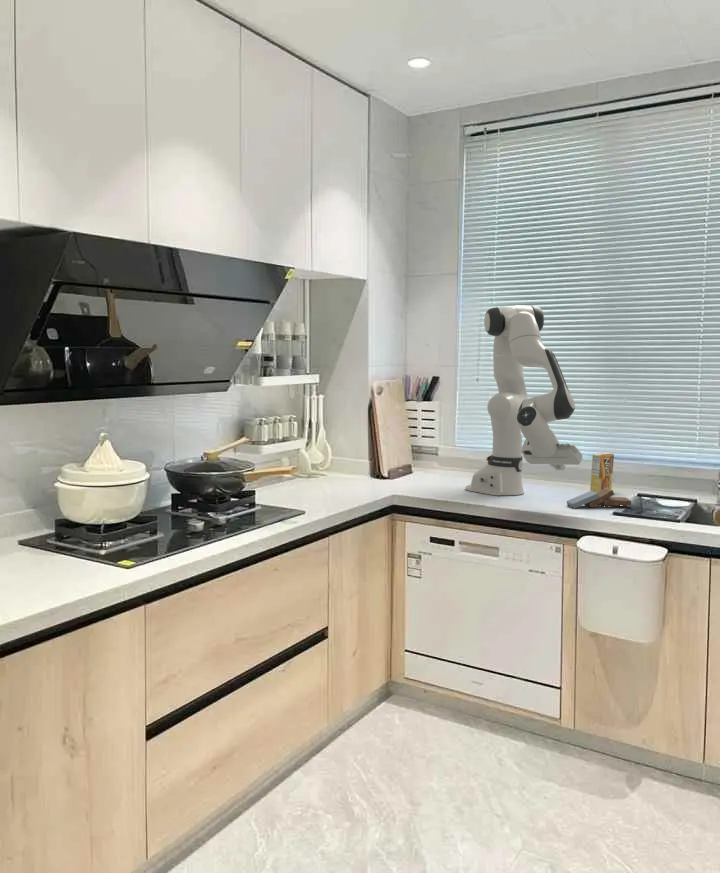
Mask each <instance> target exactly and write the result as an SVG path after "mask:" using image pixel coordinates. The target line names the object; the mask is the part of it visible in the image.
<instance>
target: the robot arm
mask: <svg viewBox="0 0 720 873" xmlns="http://www.w3.org/2000/svg"><path fill="white" fill-rule="evenodd" d="M544 323H545V316H544V312H543V310H542V309H541V307H539V306H535V305H529V306H528V305H510V306H501V307H497V306H495V307H491V308H489V309H487V311H486V313H485V314H484V318H483V325H484V330H485V332H486V333H487V334H488V335H489V336H492V337H494V339H493V349H492V350H493V354H492V355H493V378H494V379H495V381H496V385H497V390H498V393H496V394H494V395H493V396H492V397H491V398H490V399H489V400H488V403H487V412H488V414H489V417H490V422H491V424H490V425H491V430H492V451H491V452H492V454H490V455H489V456H487V457H486V459H485V461H487V464H485V465H484V466H483V467H481V468H479V470H477V471H476V472H475V473H473V476H472V478H471V483H470V484H468V485H466V486H465V489H464V490H465V491H470V492H473V493H474V492H475V493H481V494H484V495H485V494H486V495H492V496H517V495H518V496H519V495H523V494H524V493H525V491H524V487H523V481H522V471H523V458H524V459H525V461H526V462H527V463H528V464H529V465H549V466H550V467H552V468H553V469H555V471H565V470H566V466H565V465H571V466H572V465H574V466H575V465H576V466H577V465H580V464H581V463H582V461H583V454H582V453H581V451H580V450H579V449H578V448H577V447H576V446H575V445H574V444H571V443H560V441H559V439H558V438H557V436H556V435H555V433H554V431H553V430H552V429H550V425H549V424H548V423H551V422H555V421H562V420H567V419H570V418H571V416H572V415H573V413H574V412H575V410H576V405H575V404H576V403H575V400H574V398H573V396H572V394H571V392H570V390H569V387H568V385H567V383H566V380H565V377H564V375H563V371H562V369H561V367H560V364H559V362H558V360H557V358H556V356H555V354H554V352H553V350H552V349H551V348H549V347H546V346H544V344H543V341H542V336H541V331H542V329H543V328H544ZM524 366H525V367H529V368H541V369H544V370H546V372H547V374H548V377H549V381H550V383H551V385H552V387H553V389H552V391H550V392H547V393H544V394H541V395H537V396H533V397H530V398H529V397H528V394H527V388H526V382H525V377H524ZM523 437H524V438H525V439H524V442H523ZM522 455H523V456H522Z"/></svg>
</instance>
